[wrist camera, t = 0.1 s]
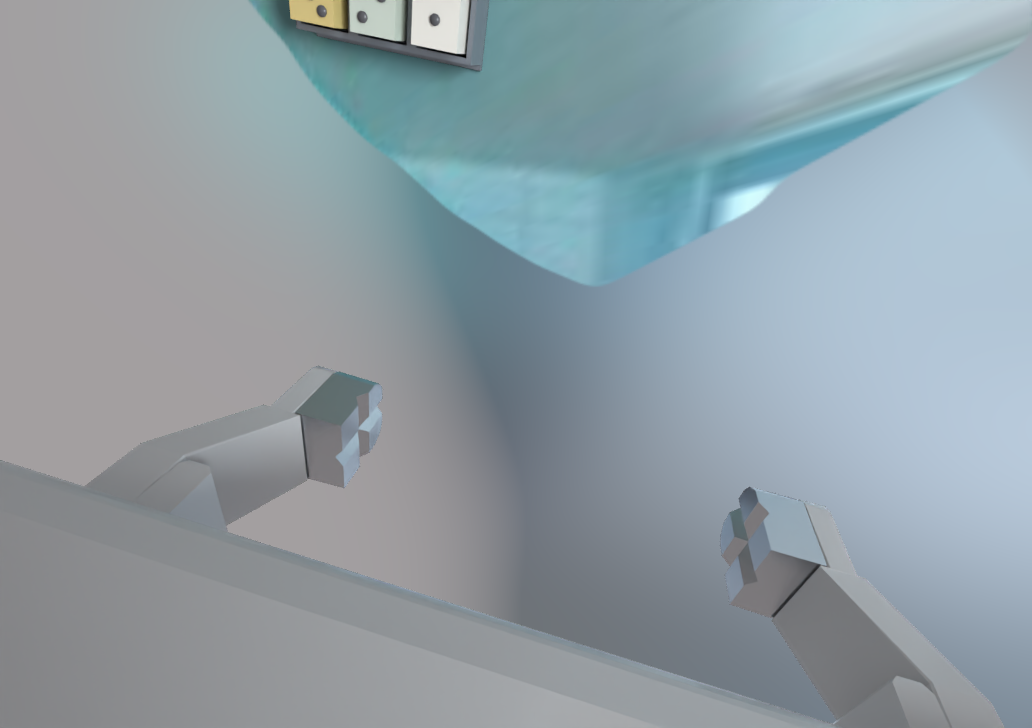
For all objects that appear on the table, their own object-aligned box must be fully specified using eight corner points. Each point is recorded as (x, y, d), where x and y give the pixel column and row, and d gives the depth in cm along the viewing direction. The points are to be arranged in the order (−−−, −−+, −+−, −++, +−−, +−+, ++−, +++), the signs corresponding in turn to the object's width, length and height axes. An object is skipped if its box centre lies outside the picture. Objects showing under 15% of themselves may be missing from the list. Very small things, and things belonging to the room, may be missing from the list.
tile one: (427, -12, 45) (412, -17, 42) (473, -3, 44) (460, -7, 41) (425, 45, 47) (409, 44, 44) (467, 54, 47) (455, 53, 44)
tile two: (367, -24, 45) (347, -30, 42) (411, -15, 45) (394, -20, 42) (367, 33, 48) (348, 31, 45) (409, 41, 47) (393, 40, 44)
